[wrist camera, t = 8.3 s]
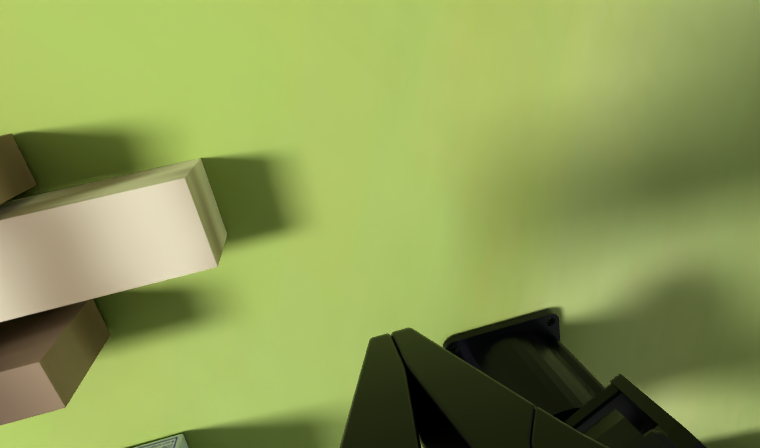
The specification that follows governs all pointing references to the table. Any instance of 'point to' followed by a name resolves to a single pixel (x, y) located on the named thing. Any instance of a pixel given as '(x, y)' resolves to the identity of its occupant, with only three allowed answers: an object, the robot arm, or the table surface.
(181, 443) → the medicine box
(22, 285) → the block
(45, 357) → the cradle
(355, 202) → the table surface
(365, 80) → the table surface
